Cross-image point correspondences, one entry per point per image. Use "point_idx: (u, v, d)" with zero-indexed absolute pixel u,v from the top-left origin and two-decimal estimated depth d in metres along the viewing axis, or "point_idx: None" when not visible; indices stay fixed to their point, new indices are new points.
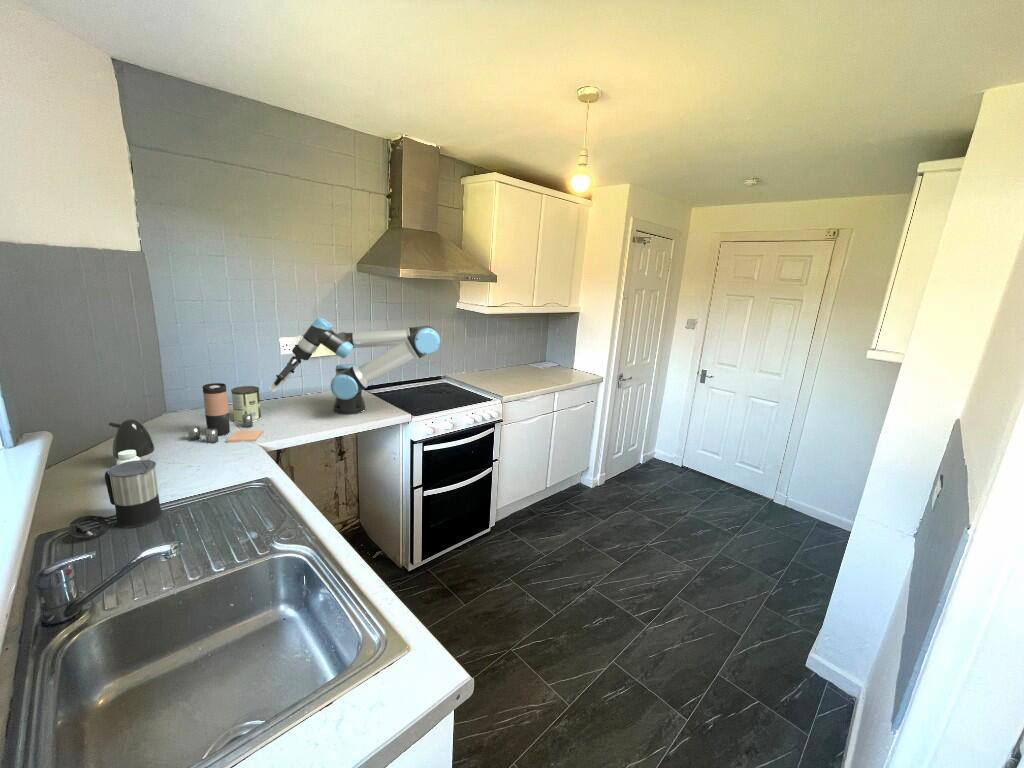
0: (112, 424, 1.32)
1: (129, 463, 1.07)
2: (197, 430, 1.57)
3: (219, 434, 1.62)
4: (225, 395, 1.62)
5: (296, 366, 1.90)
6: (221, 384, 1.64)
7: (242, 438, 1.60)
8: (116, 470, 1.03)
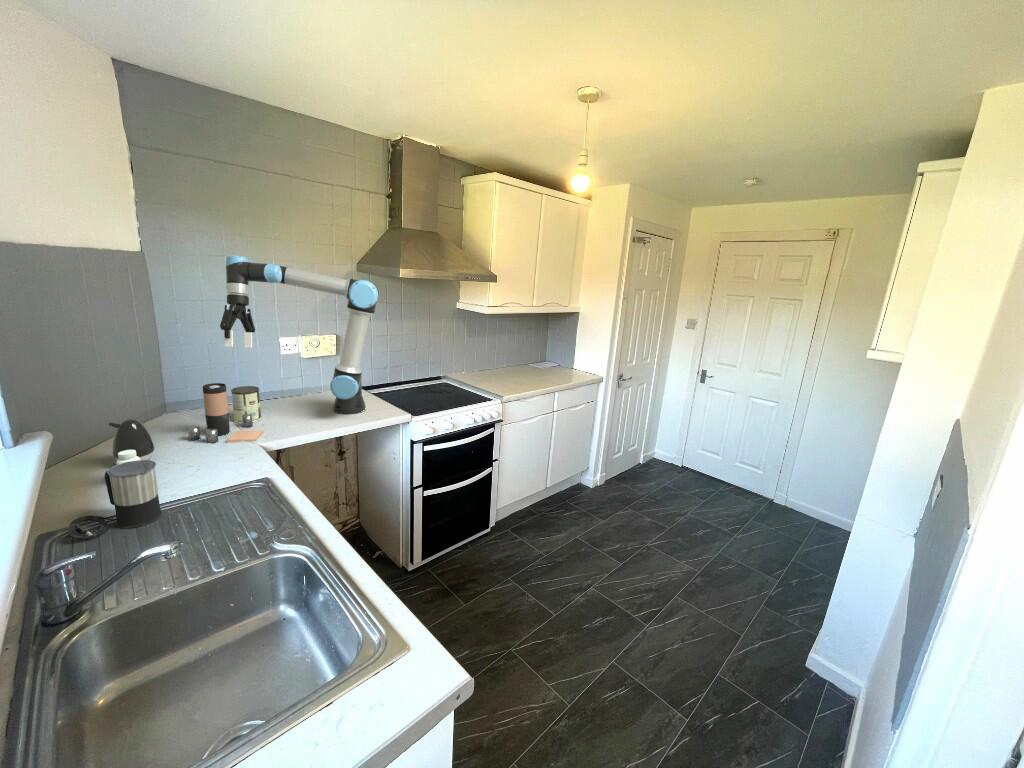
0: (112, 424, 1.32)
1: (129, 463, 1.06)
2: (197, 430, 1.57)
3: (219, 434, 1.62)
4: (225, 395, 1.62)
5: (253, 325, 1.78)
6: (221, 384, 1.64)
7: (242, 438, 1.60)
8: (116, 470, 1.02)
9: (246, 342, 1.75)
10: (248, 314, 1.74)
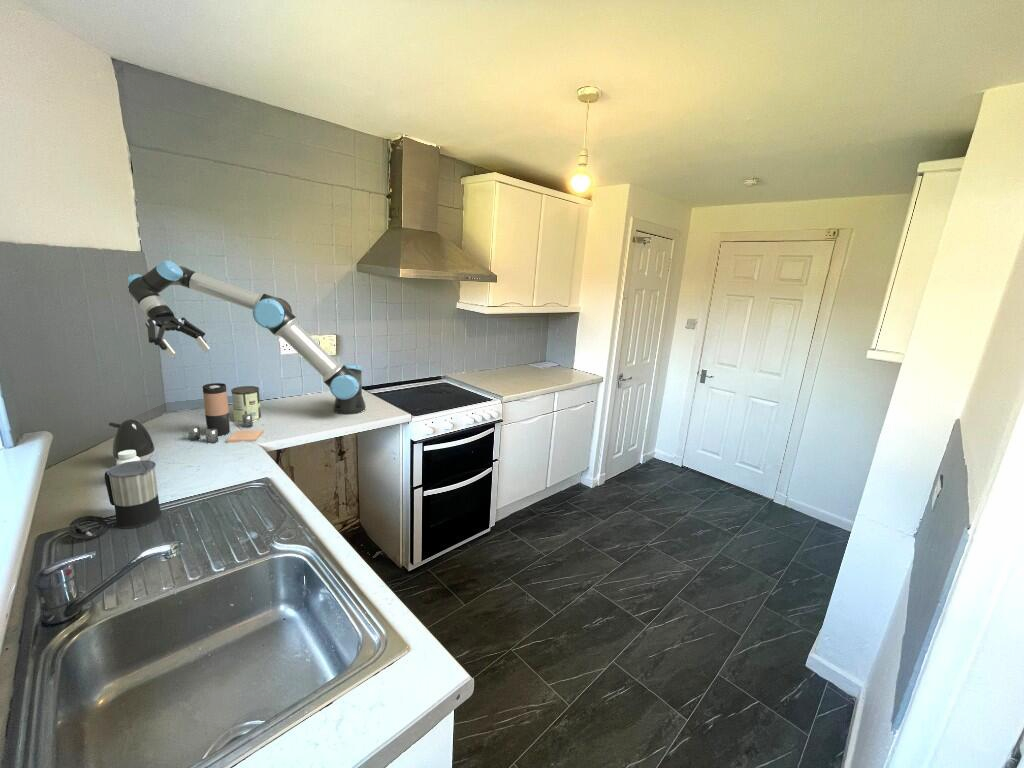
0: (112, 424, 1.32)
1: (129, 464, 1.06)
2: (197, 430, 1.57)
3: (219, 434, 1.62)
4: (225, 395, 1.62)
5: (199, 329, 1.69)
6: (221, 384, 1.64)
7: (242, 438, 1.60)
8: (116, 470, 1.02)
9: (202, 347, 1.67)
10: (185, 322, 1.66)
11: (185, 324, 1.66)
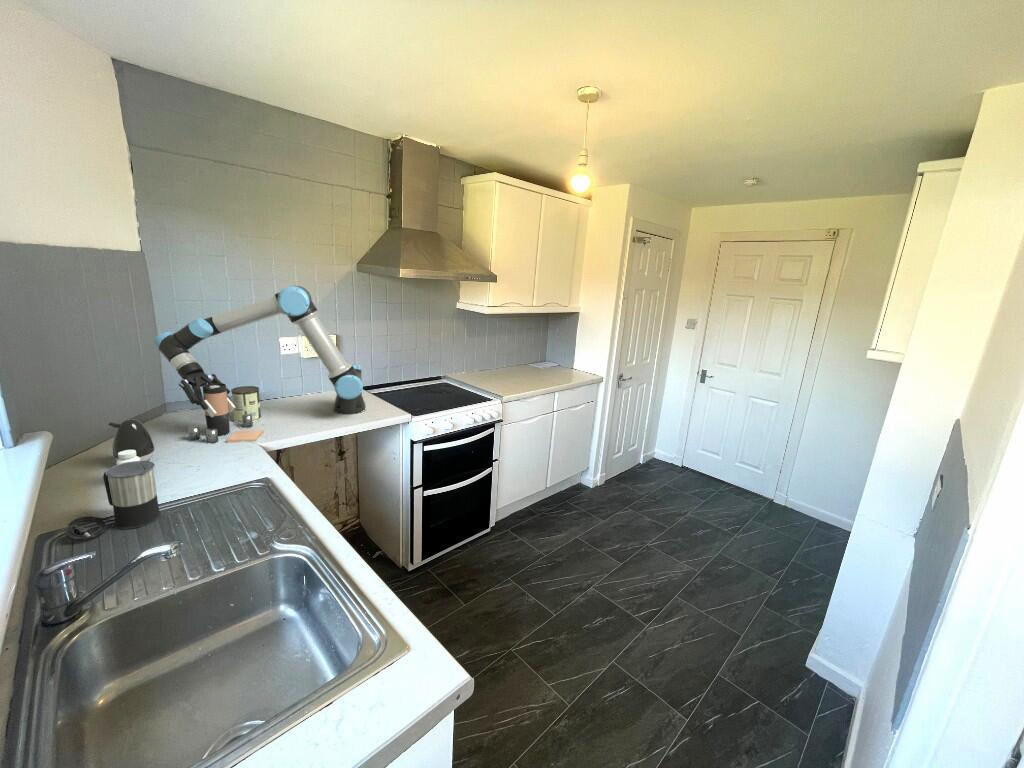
0: (112, 424, 1.32)
1: (128, 464, 1.06)
2: (197, 430, 1.57)
3: (219, 434, 1.62)
4: (225, 395, 1.62)
5: None
6: (221, 384, 1.64)
7: (242, 438, 1.60)
8: (114, 471, 1.02)
9: (228, 406, 1.66)
10: (213, 379, 1.67)
11: (213, 380, 1.67)
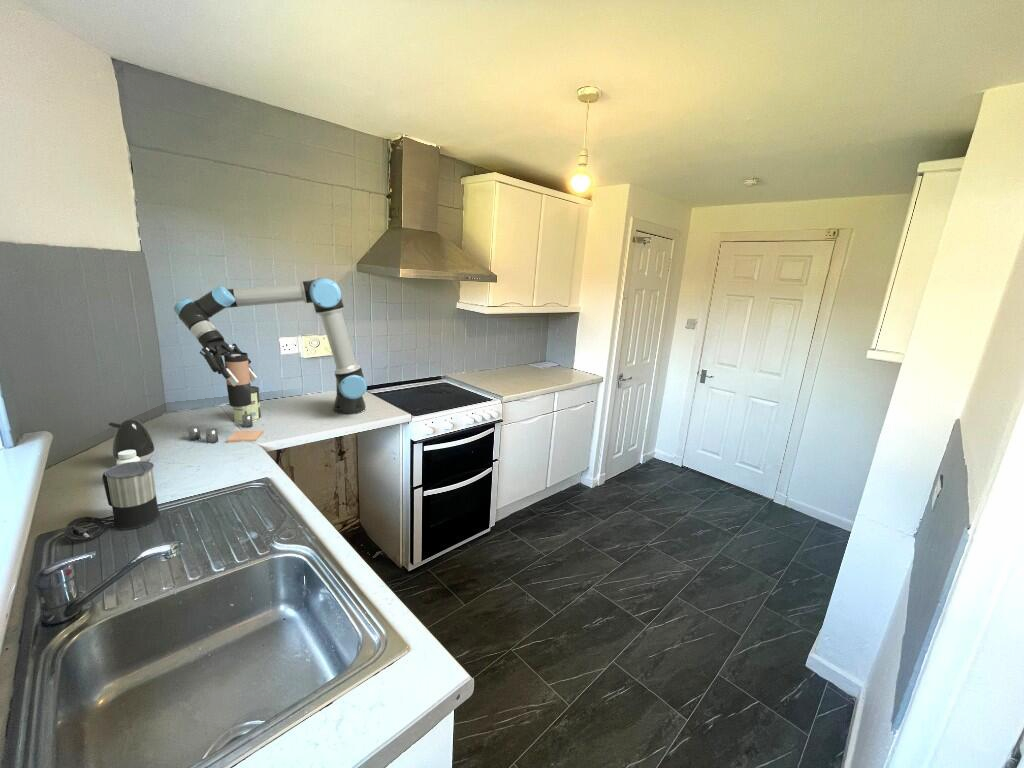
0: (112, 424, 1.32)
1: (127, 465, 1.06)
2: (197, 430, 1.57)
3: (241, 404, 1.58)
4: (247, 364, 1.57)
5: None
6: (242, 353, 1.59)
7: (242, 438, 1.60)
8: (113, 471, 1.02)
9: None
10: (234, 348, 1.62)
11: (234, 350, 1.62)
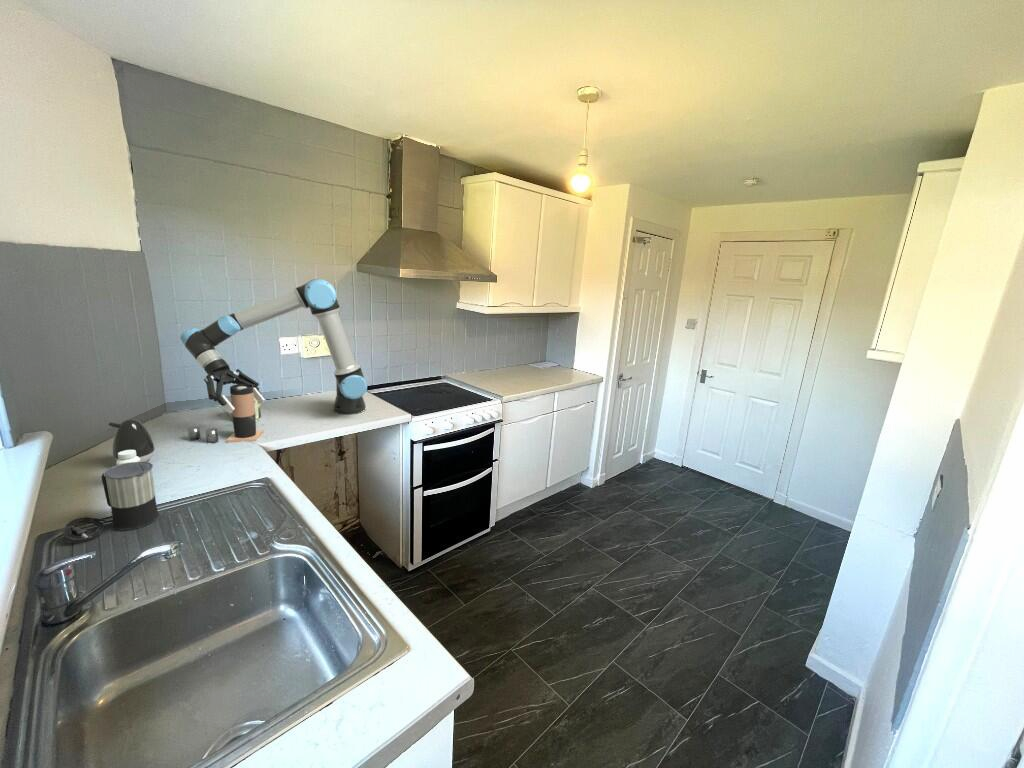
0: (112, 424, 1.32)
1: (126, 465, 1.06)
2: (197, 430, 1.57)
3: (246, 435, 1.61)
4: (252, 396, 1.60)
5: (253, 380, 1.68)
6: (248, 385, 1.62)
7: (242, 438, 1.60)
8: (112, 472, 1.02)
9: (257, 398, 1.66)
10: (239, 374, 1.65)
11: (240, 376, 1.66)
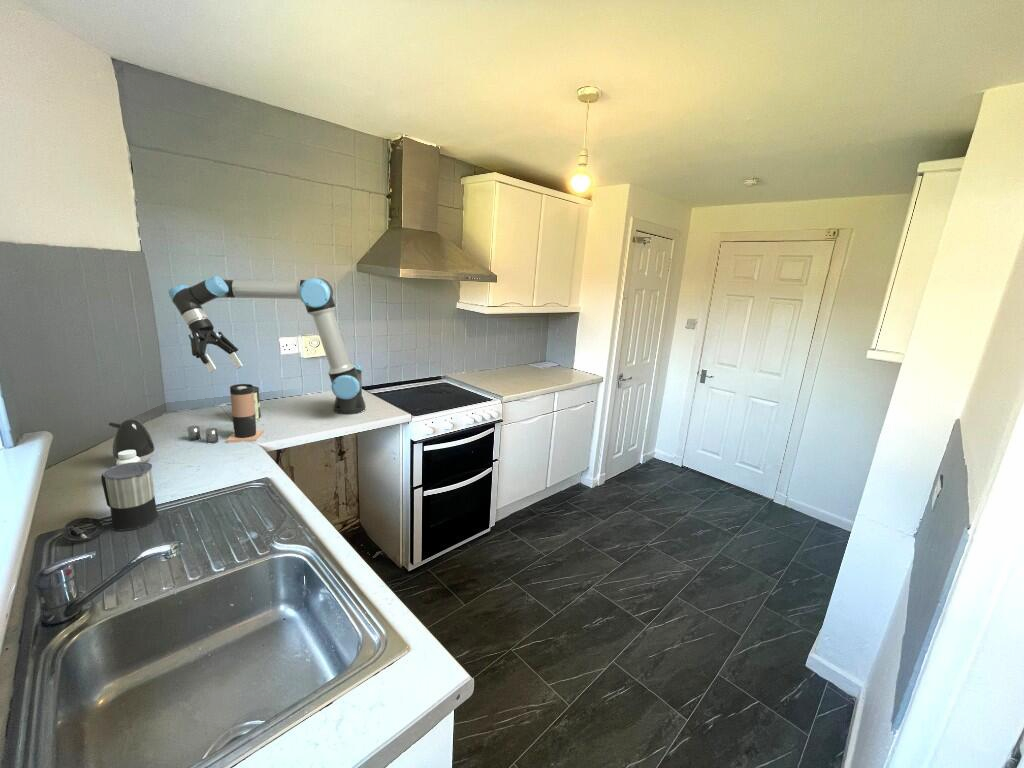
0: (112, 424, 1.32)
1: (125, 465, 1.05)
2: (197, 430, 1.57)
3: (246, 435, 1.61)
4: (252, 396, 1.60)
5: (233, 345, 1.74)
6: (248, 385, 1.62)
7: (242, 438, 1.60)
8: (111, 472, 1.01)
9: (235, 363, 1.72)
10: (221, 337, 1.70)
11: (221, 338, 1.71)
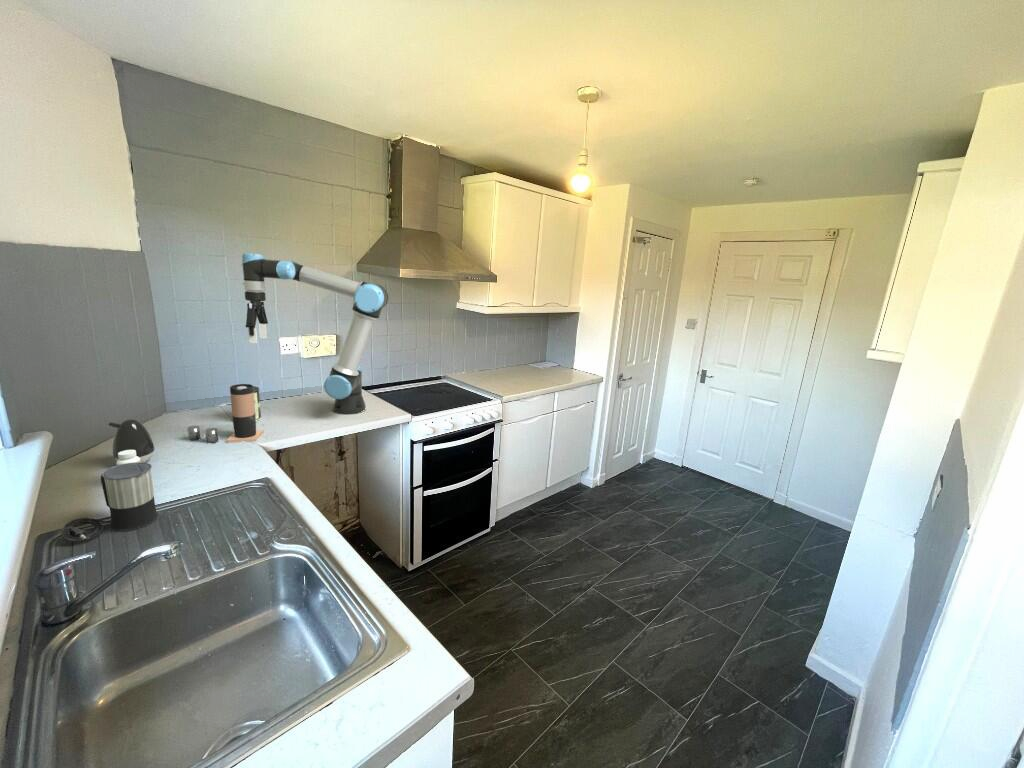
0: (112, 424, 1.32)
1: (125, 466, 1.05)
2: (197, 430, 1.57)
3: (246, 435, 1.61)
4: (252, 396, 1.60)
5: None
6: (248, 385, 1.62)
7: (242, 438, 1.60)
8: (111, 473, 1.01)
9: (261, 333, 1.86)
10: None
11: None
